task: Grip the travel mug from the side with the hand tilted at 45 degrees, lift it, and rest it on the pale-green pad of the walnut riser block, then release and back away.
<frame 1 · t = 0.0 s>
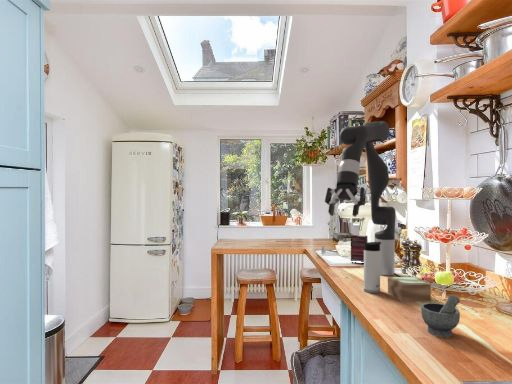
hand: (342, 215, 118), 31 cm above the table, tool tilted 20°, fingers open, 8 cm apart
mortar and pestle: (441, 334, 93), on the table
riser: (408, 296, 127), on the table
supplement box: (359, 263, 189), on the table
travel mug: (372, 291, 134), on the table
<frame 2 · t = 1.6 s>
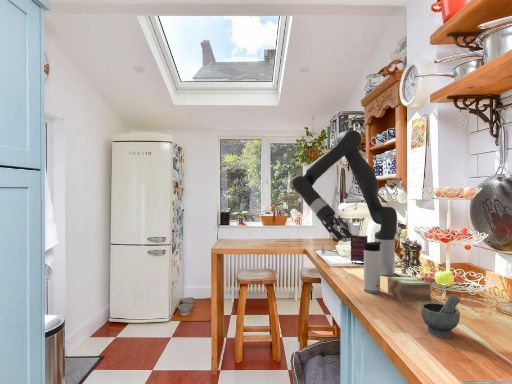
hand: (345, 237, 141), 21 cm above the table, tool tilted 45°, fingers open, 8 cm apart
nothing on the table moved.
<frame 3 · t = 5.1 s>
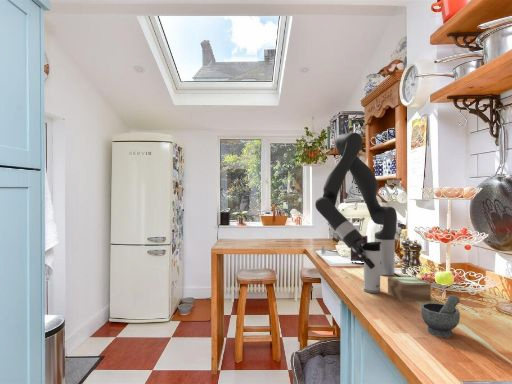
hand: (376, 266, 133), 10 cm above the table, tool tilted 45°, fingers closed on travel mug, 6 cm apart
travel mug: (372, 291, 134), on the table, touching gripper
everything else where it was.
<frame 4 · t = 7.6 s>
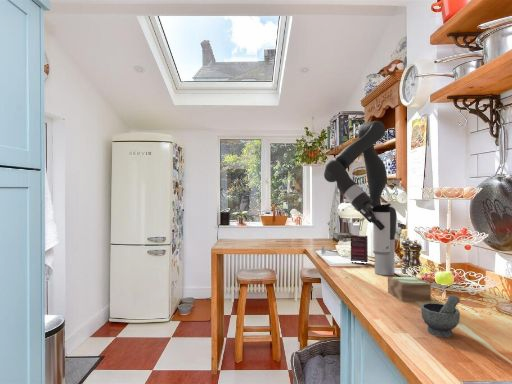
hand: (386, 228, 131), 26 cm above the table, tool tilted 45°, fingers closed on travel mug, 6 cm apart
travel mug: (381, 254, 132), point 15 cm above the table, touching gripper
everything else where it was.
when the fingers open (18 cm above the table, at t = 10.3 s): travel mug stays where it is, resting on riser.
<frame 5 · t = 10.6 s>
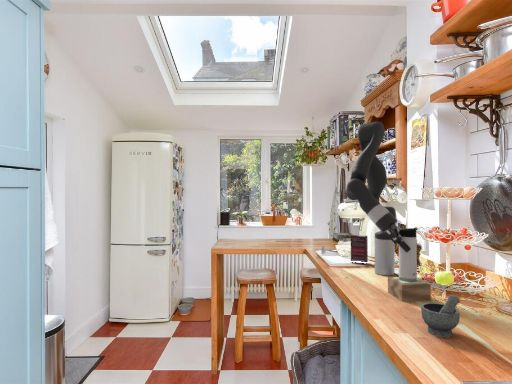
hand: (412, 249, 126), 18 cm above the table, tool tilted 45°, fingers open, 8 cm apart
travel mug: (408, 280, 127), point 6 cm above the table, touching riser
everything else where it was.
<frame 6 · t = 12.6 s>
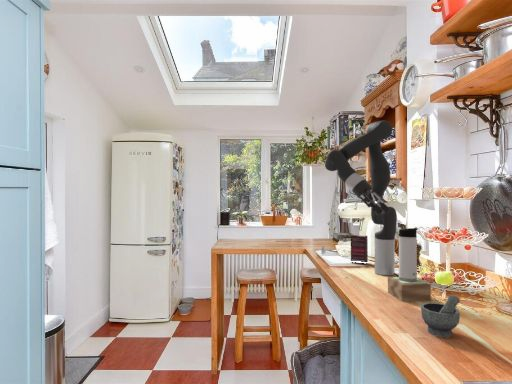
hand: (385, 212, 137), 32 cm above the table, tool tilted 45°, fingers open, 8 cm apart
nothing on the table moved.
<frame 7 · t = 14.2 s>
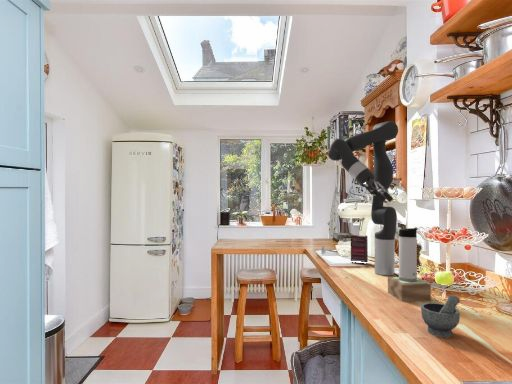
hand: (388, 200, 138), 37 cm above the table, tool tilted 45°, fingers open, 8 cm apart
nothing on the table moved.
at the end: travel mug inside the target area on the riser (0.2 cm from its centre), point 6.1 cm above the riser's base; travel mug tilted 0°; the gripper is holding nothing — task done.
